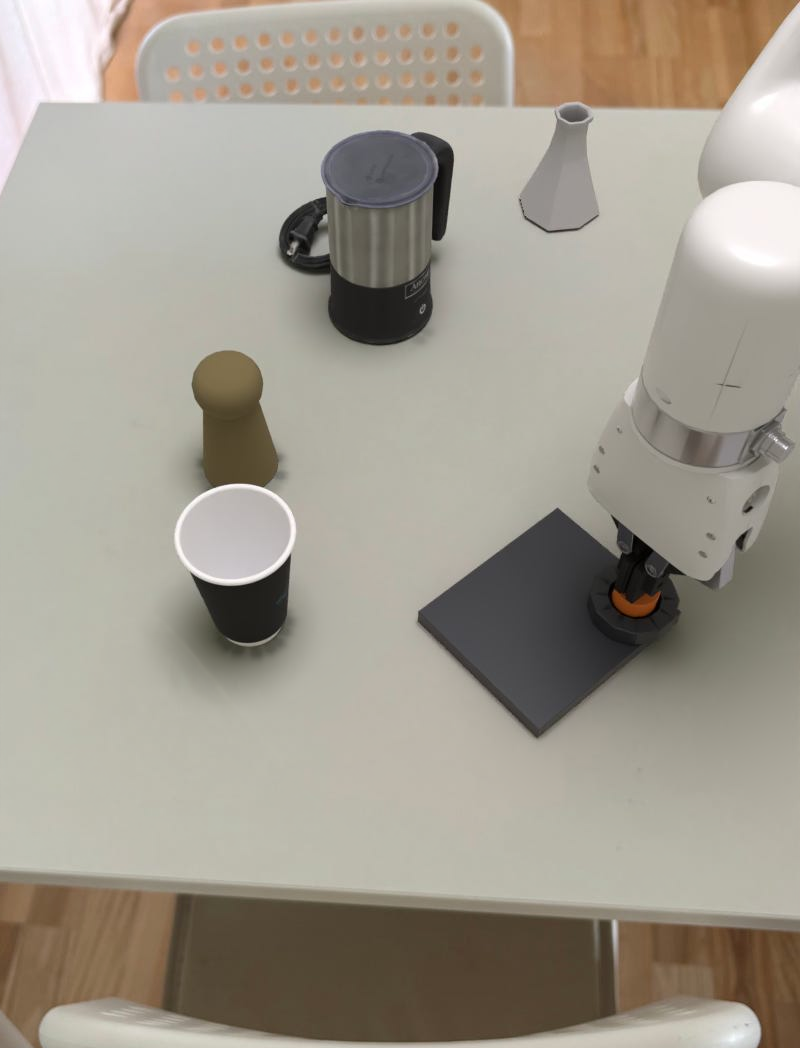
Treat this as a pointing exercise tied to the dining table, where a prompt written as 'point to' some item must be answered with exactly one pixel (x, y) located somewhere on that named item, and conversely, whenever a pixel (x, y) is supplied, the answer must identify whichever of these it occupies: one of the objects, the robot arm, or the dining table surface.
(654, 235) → the dining table surface
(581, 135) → the flask
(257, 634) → the dixie cup
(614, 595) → the power button
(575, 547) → the dark grey base plate
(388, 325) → the milk frother
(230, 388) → the brown pawn
